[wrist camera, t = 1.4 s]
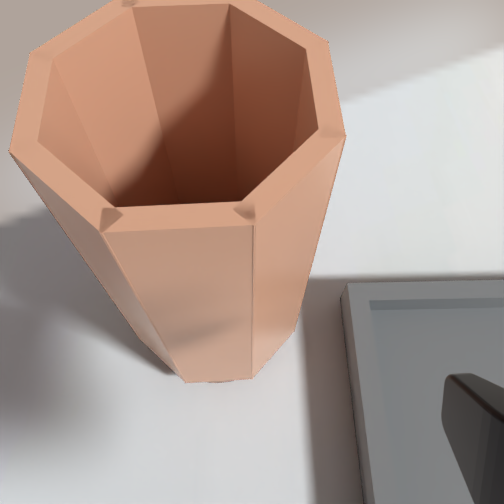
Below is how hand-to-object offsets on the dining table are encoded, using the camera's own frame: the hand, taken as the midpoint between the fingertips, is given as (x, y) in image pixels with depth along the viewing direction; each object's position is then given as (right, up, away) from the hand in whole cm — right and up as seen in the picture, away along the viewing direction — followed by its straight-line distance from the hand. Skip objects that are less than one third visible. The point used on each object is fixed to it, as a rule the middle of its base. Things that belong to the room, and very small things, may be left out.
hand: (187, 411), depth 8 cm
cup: (0, 0, +13) cm, 13 cm away
